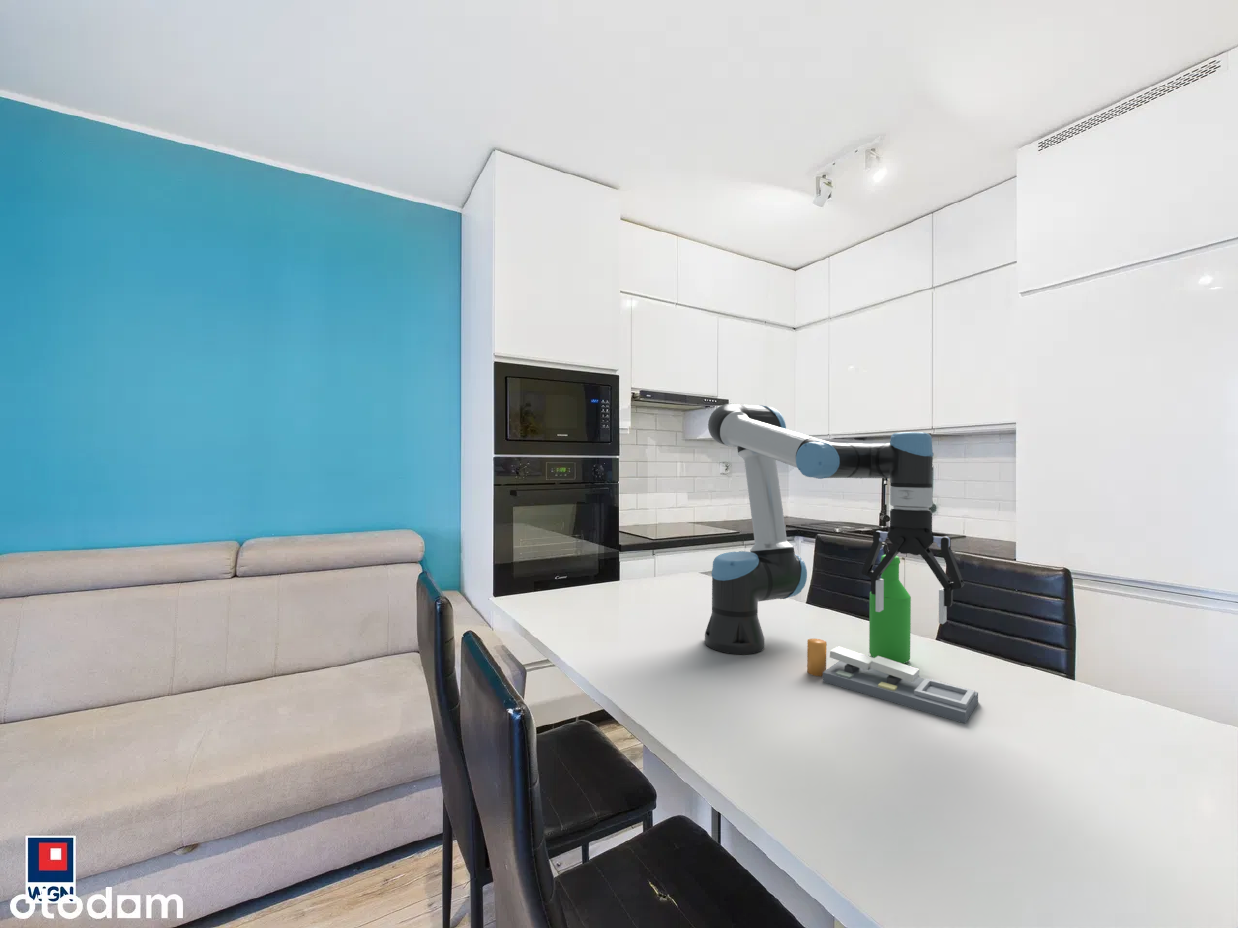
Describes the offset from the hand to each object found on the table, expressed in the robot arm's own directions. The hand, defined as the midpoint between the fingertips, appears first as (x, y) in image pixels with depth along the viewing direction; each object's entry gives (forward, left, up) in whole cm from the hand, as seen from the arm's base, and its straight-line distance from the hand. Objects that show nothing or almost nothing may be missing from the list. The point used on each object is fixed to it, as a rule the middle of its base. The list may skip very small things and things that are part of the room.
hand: (909, 616), depth 106 cm
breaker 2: (-3, 0, -11) cm, 12 cm away
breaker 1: (-11, 0, -11) cm, 16 cm away
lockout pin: (-18, -2, -16) cm, 24 cm away
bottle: (-9, +19, -16) cm, 27 cm away
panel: (-2, 0, -16) cm, 16 cm away
